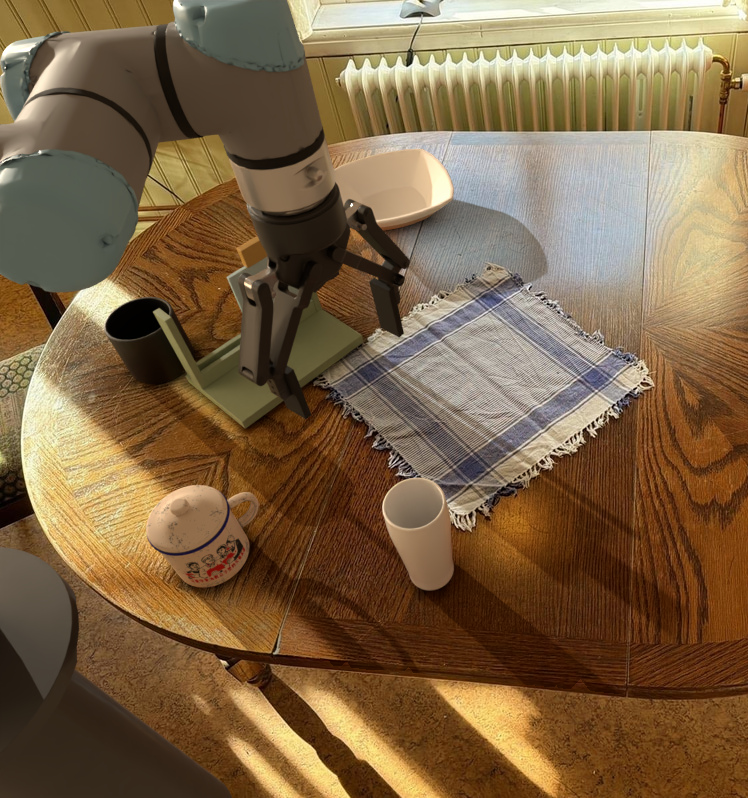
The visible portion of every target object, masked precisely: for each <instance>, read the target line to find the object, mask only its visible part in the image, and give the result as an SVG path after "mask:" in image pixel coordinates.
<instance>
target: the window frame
mask: <svg viewBox="0 0 748 798" xmlns="http://www.w3.org/2000/svg"><path fill="white" fill-rule="evenodd" d="M317 292H318V291H317ZM317 292H316V293H314V292H313V294H312V297H311V301H310V304H309V306H308V307H307V308H305V309H303V312H302V316H301V319H300V322H299V326H298V329H297V333H296V336H295V339H294V343H293V346H292V350H291V353H290V356H289V360H288V363H287V366H289V367H290V368H292V369H294V371H295V374H296V376H297V379H298V382H299V384H300V387H301V389H302V388H303V387H305V386H306V385H308V384H309V383H310V382H311V381H313V380H314V379H315V378H317V377H318V376H320V375H321V374H322V373H323V372H325V371H326V370H328V369H329V368H330V367H331V366H333V365H335V364H336V363H337V362H338V361H340V360H341V359H343V358H345V356H347V355H348V354H349V353H351V352H352V351H353V350H355V349H356V348H358V347H359V346H360V345H362V344H363V343H364V338H363V335H362V334H361V333H360V332H358V331H356V330H355V329H353V328H352V327H351V326H349V325H347V324H345V322H343V321H342V320H340V319H338V318H337V317H336V316H334V315H332V314H330V313H328V312H327V311H326V310H324V309H323V308H322V304H321V302H320V298H319V296H318V293H317ZM153 313H154V315H155V317H156V318H157V320H158V322H159V324H160V326H161V327H162V329H163V331H164V333H165V335H166V336H167V338H168V340H169V342H170V344H171V345H172V347H173V349H174V351H175V353H176V354H177V356H178V358H179V360H180V362H181V363H182V365H183V367H184V369H185V373H186V375H185V378H186V381H188V383H189V384H190V385H191V386H192V387H194V388H195V389H196V390H197V391H198V392H200V393H201V394H202V395H203V396H205V398H207V399H209V401H210V402H212V403H213V404H214V405H215V406H217V407H218V408H219V409H221V410H222V411H223V412H224V413H225V414H227V415H228V416H229V417H230V418H231V419H232V420H234V421H235V422H236V423H237V424H239V425H240V426H241V427H242V428H244V429H247V428H248V427H250V426H251V425H253V424H254V423H255V422H257V421H258V420H260V419H261V418H262V417H264V416H265V415H267V413H269V412H271V411H272V410H273V409H275V408H276V407H278V406H279V405H280V404H281V403H283V402H284V400H283V399H281V398H279V397H278V396H276V395H274V394H273V393H272V392H271V391H270V388H269V386H268V384H267V382H266V384H265V385H263V386H258V385H256V384H255V383H253V382H251V381H250V380H248V379H247V378H245V377H243V376H242V375H240V374H239V355H240V339H241V332H240V333H239V334H237V335H235V336H234V337H233V338H231V339H230V340H228V341H227V342H225V343H224V344H222V345H221V346H219V347H217V348H216V349H215V350H213V351H211V352H210V353H208V354H207V355H205V356H204V357H202V358H200V359H199V360H198V361H196V360H195V357H194V358H193V357H192V355H191V353H190V351H189V349H188V347H187V345H186V343H185V342H184V340H183V338H182V336H181V334H180V332H179V330H178V328H177V327H176V325H175V323H174V321H173V319H172V317H170V316H169V315H168V314H166V313H165V312H164V311H163V310H161V309H160V308H158V309H157V310H155V311H153Z"/></svg>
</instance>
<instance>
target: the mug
mask: <svg viewBox="0 0 748 798" xmlns="http://www.w3.org/2000/svg"><path fill="white" fill-rule="evenodd" d="M158 308H160V309H161V310H163V311H164V312H165V313H166V314H168V315H169V316H170V317H172V319H173V321H174V323H175V325H176V327H177V328H178V330H179V332H180V334H181V336H182V338H183V340H184V342H185V343H186V345H187V347H188V349H189V351H190V353H191V355H192V357H193V358H194V359H195V354H196V353H195V348H194V346H193V344H192V342H191V340H190V338H189V336H188V334H187V333H186V331H185V329H184V327H183V325H182V324H181V322H180V319H179V317H178V315H177V314H176V312H175V310H174V308H173V306H172V304H171V303H170V302H169V301H167V300H166V299H163V298H161V297H157V296H142V297H138V298H135V299H131V300H129V301H126V302H124V303H122V304H121V305H119V306H117V307H116V308H114V309H113V310H112V311H111V312H110V313H109V315H108V316H107V317H106V319H105V321H104V323H103V331H104V334H105V336H106V337H107V340H108V341H109V342H110V343H111V345H112V347H113V348H114V350H115V352H116V353H117V355H118V356H119V357H120V359H121V361H122V362H123V364H124V365H125V366H126V368H127V370H128V372H129V373H130V375H131V376H132V377H133V378H134V379H135V380H136V381H138V382H140V383H143V384H148V385H157V384H162V383H167V382H171V381H172V380H175V379H177V378H179V377H180V376H182V375H183V374H184V373H186V371H185V369H184V367H183V365H182V363H181V362H180V360H179V358H178V356H177V354H176V353H175V351H174V349H173V347H172V345H171V344H170V342H169V340H168V338H167V336H166V335H165V333H164V331H163V329H162V327H161V326H160V324H159V322H158V320H157V318H156V317H155V315H154V313H153V311H155V310H157V309H158Z"/></svg>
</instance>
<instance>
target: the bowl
mask: <svg viewBox="0 0 748 798" xmlns="http://www.w3.org/2000/svg"><path fill="white" fill-rule="evenodd" d="M334 172H335V176H336V179H335V182H336V183H337V185H338V187H339V190H340V194H341V198H342V201H343V205H344V204H345V202H346V200H348V199H352V200H354V201H356V202H359V203H361V204H363V205H366V206H368V207H370V208H371V209H372V211H373V214H374V217H375V219H376V222H377V224H378V225H379V227H380V228H381V229H382V230H383V231H384V232H385V231H389V230H397V229H401V228H405V227H408V226H412V225H414V224H417V223H419V222H422V221H425V220H426V219H428V218H430V217H431V216H433V215H434V214H435V213H436V212H438V211H439V210H441V209H443V208H444V207H445V206H446V205H447V204H450V202H452V201H453V200H454V193H455V187H454V183H453V180H452V178H451V176H450V173H449V171H448V169H447V168H446V166H444V165H443V163H442V162H441V161H440V160H439V159H438V158H437V157H436V155H434V154H432V153H431V152H429V151H427V150H425V149H423V148H405V149H399V150H392V151H387V152H382V153H376V154H372V155H369V156H366V157H365V156H364V157H362V158H359V159H355V160H352V161H349V162H346V163H344V164H341V165H339V166H337V167H336V168H334Z"/></svg>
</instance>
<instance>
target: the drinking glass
mask: <svg viewBox="0 0 748 798" xmlns="http://www.w3.org/2000/svg"><path fill="white" fill-rule="evenodd" d="M381 509H382V514H383V515H382V516H383V519H384V522H385V523H384V524H385V526H386V530H387V532H388V535H389V537H390V540H391V542H392V544H393V545H394V547H395V549H396V552H397V553H398V555H399V558H400V559H401V561H402V563H403V565H404V567H405V568H406V570H407V573H408V577H409V579H410V581H411V583H413V585H414V586H415V587H417V588H419V589H420V590H423V591H437V590H439V589H441V588H443V587H444V586H446V585H447V584H449V582H450V580H451V579H452V577H453V575H454V571H455V563H454V559H453V545H452V523H451V515H450V508H449V505H448V502H447V498H446V495H445V493H444V490H443V489H442V488H441V486H440V485H439V484H438V483H436V482H435V481H433V480H431V479H428V478H426V477H425V478H424V477H411V478H407V479H404V480H401V481H399V482H397V483H396V484H395V485H394V486H392V487H391V488H390V489H389V490H388V492H387V493H386V495H385V496H384V498H383V501H382V508H381Z"/></svg>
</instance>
